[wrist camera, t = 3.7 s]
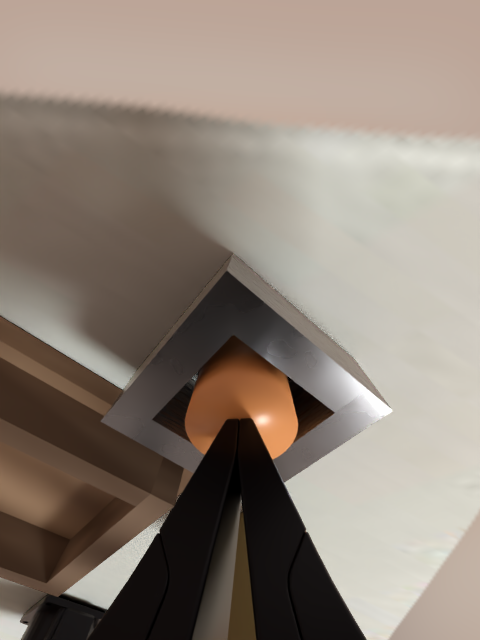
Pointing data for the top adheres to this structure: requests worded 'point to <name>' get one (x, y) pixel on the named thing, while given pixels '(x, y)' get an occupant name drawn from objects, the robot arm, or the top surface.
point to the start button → (241, 398)
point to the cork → (241, 593)
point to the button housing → (268, 341)
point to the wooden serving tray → (68, 469)
